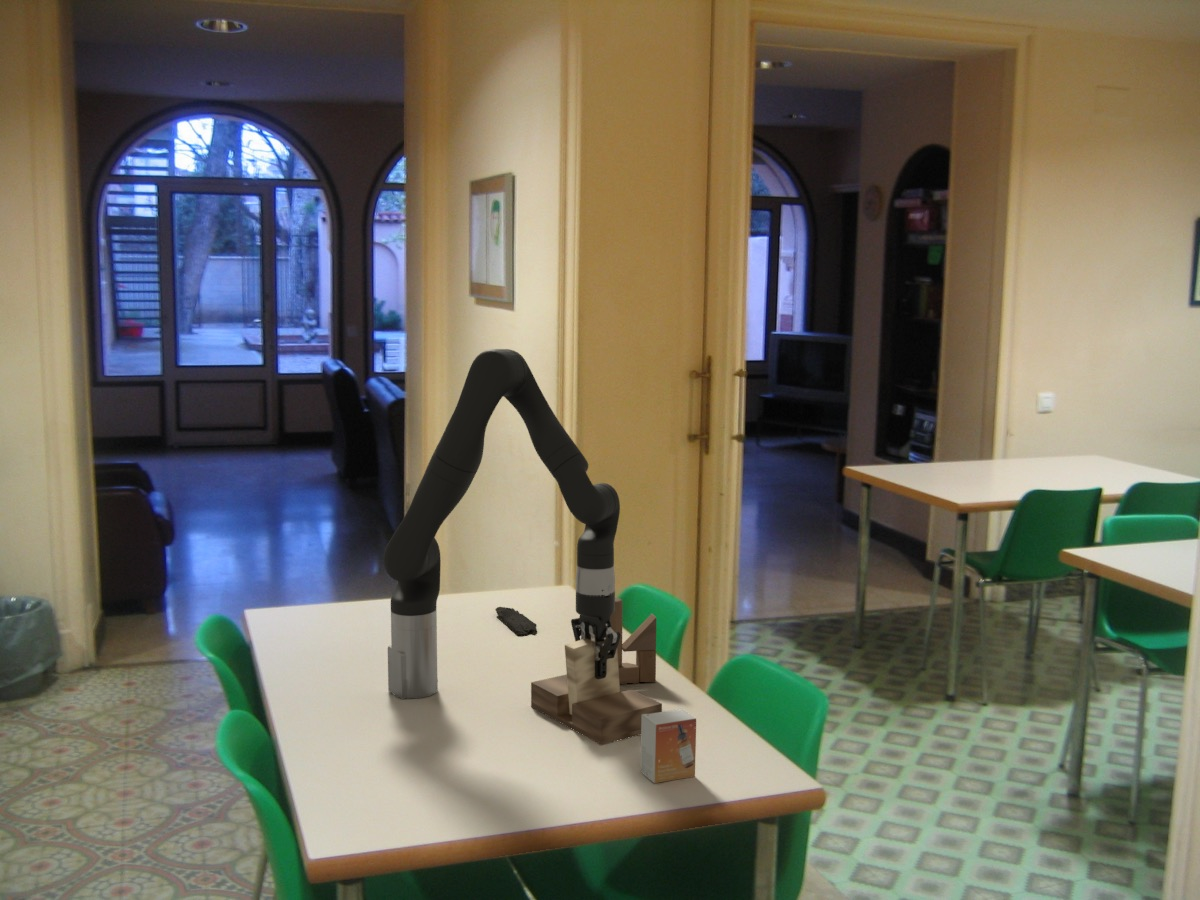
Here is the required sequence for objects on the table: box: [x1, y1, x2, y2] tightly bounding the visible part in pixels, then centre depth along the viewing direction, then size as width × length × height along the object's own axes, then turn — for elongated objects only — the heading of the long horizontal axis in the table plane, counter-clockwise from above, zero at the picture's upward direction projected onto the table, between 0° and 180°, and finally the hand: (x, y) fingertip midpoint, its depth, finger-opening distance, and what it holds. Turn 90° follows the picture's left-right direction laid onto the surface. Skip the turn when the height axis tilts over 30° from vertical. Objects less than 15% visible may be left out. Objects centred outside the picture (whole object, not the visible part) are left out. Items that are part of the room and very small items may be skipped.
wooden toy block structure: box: [610, 597, 657, 685], centre depth 249 cm, size 4×11×18 cm, turn 102°
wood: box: [495, 606, 538, 637], centre depth 292 cm, size 22×7×3 cm, turn 22°
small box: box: [640, 708, 697, 784], centre depth 202 cm, size 8×6×10 cm
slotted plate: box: [530, 673, 663, 746], centre depth 229 cm, size 14×24×5 cm, turn 35°
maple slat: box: [564, 639, 621, 715], centre depth 228 cm, size 10×3×14 cm, turn 125°
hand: (595, 675), depth 228 cm, fingers closed on maple slat, 3 cm apart
